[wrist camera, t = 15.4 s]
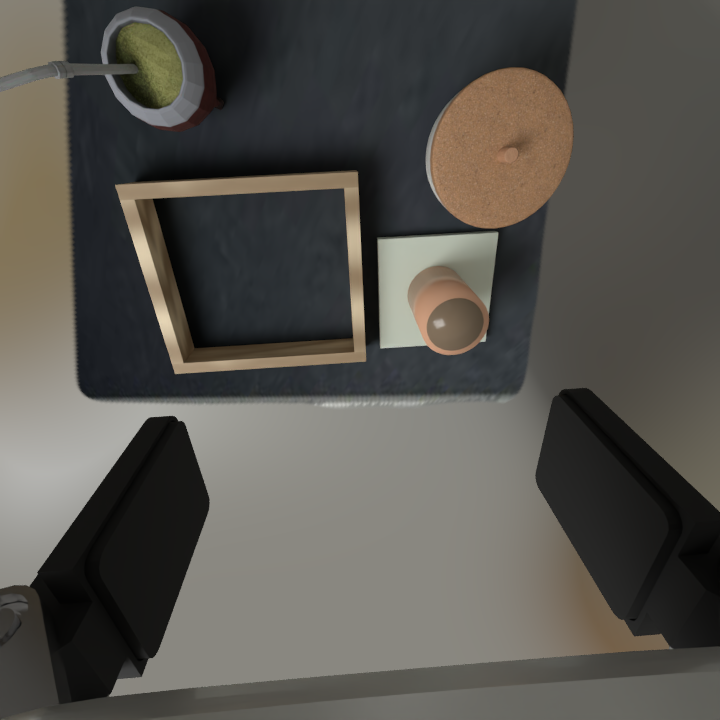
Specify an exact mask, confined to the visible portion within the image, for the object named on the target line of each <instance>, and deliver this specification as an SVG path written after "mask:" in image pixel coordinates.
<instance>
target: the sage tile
mask: <svg viewBox="0 0 720 720" xmlns="http://www.w3.org/2000/svg"><path fill="white" fill-rule="evenodd" d="M497 240H498V232H496V231H482V232H465V233H448V234H430V235H413V236H396V237H379V238H377V258H378V298H379V338H380V348H393V347H408V346H424V345H427V344H426V343H425V341H424V339H423V337H422V335H421V332H420V330H419V327H418V325H417V323H416V320H415V318H414V316H413V313H412V311H411V308H410V306H409V303H408V298H407V294H408V289H409V286H410V283H411V282H412V280H413V279H414V277H415V276H416V275H417V274H419V273H420V272H421V271H423V270H425V269H427V268H429V267H433V266H444V267H448V268H450V269H452V270H454V271H455V272H456V273H457V274H458V275H459V276H460V277H461V278H462V279H463V280H464V282H465V283H466V284H467V285H468V286H469V287H470V288H471V290H472V291H473V292H474V293H475V294H476V295H477V296H478V297H479V299H480V300H481V301H482V302H483V303H484V305H485V306H486V308H487V311H488V314H489V307H490V299H491V290H492V282H493V274H494V265H495V257H496V249H497ZM486 332H487V331H486ZM485 340H486V333H485V335H484V337H483V338H482V340H481V341H480V342H485Z"/></svg>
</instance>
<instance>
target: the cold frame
mask: <svg viewBox="0 0 720 720" xmlns="http://www.w3.org/2000/svg"><path fill="white" fill-rule="evenodd" d="M115 186H116V189H117V192H118V195H119V198H120V202H121V205H122V208H123V211H124V214H125V217H126V220H127V224H128V227H129V230H130V233H131V236H132V239H133V243H134V246H135V249H136V252H137V255H138V258H139V261H140V265H141V268H142V271H143V274H144V277H145V280H146V283H147V287H148V290H149V293H150V296H151V299H152V302H153V305H154V309H155V312H156V315H157V318H158V321H159V324H160V327H161V331H162V334H163V337H164V340H165V343H166V346H167V349H168V353H169V356H170V359H171V362H172V365H173V368H174V371H175V374H180V373H196V372H211V371H226V370H242V369H257V368H272V367H288V366H303V365H318V364H334V363H349V362H364V361H366V347H365V324H364V302H363V279H362V257H361V234H360V211H359V189H358V172H357V171H356V170H350V171H331V172H313V173H294V174H276V175H257V176H239V177H220V178H202V179H183V180H165V181H146V182H132V183H125V184H119V185H115ZM336 188H344V193H345V210H346V226H347V243H348V259H349V276H350V292H351V309H352V325H353V338H349V339H334V340H318V341H302V342H287V343H271V344H255V345H240V346H224V347H208V348H194V345H193V341H192V338H191V334H190V331H189V327H188V323H187V320H186V316H185V313H184V309H183V306H182V302H181V298H180V295H179V291H178V288H177V284H176V281H175V277H174V273H173V270H172V266H171V263H170V259H169V256H168V252H167V248H166V245H165V241H164V238H163V234H162V231H161V227H160V224H159V220H158V216H157V213H156V209H155V206H154V202H153V199H154V198H172V197H190V196H209V195H227V194H245V193H263V192H281V191H299V190H318V189H336Z"/></svg>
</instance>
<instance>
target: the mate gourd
mask: <svg viewBox="0 0 720 720" xmlns="http://www.w3.org/2000/svg"><path fill="white" fill-rule="evenodd" d="M101 55H102V61H103V64H69V63H68V62H67V61H53V62H48V65H43V66H39V67H35V68H30V69H26V70H23V71H20V72H17V73H13V74H10V75H7V76H4V77H1V78H0V92H1V91H4V90H8V89H11V88H14V87H17V86H20V85H23V84H26V83H30V82H32V81H36V80H40V79H44V78H48V77H53V76H54V77H55V78H56V79H60V78H71V77H74V75H105V76H106V78H107V80H108V82H109V84H110V86H111V88H112V90H113V92H114V94H115V96H116V98H117V99H118V100H119V101H120V102H121V103H122V104H123V105H124V106H125V107H126V108H127V109H128V110H129V111H130V113H131V114H132V115H134V116H136V117H137V118H138V119H140V120H142V121H144V122H146V123H148V124H150V125H151V126H153V127H155V128H157V129H160V130H168V131H177V132H181V131H184V130H187V129H189V128H192V127H194V126H197V125H199V124H200V123H201V122H202V121H203V120H204V119H205V118H206V116H207V115H208V114H210V112H211V111H212V109H213V108H214V107H215V108H217V109H220V110H221V109H223V105H224V101H223V100H222V99H220V98H219V97H217V96H216V95H217V90H216V81H215V71H214V68H213V66H212V63H211V61H210V58H209V56H208V53H207V51H206V48H205V47H204V46H203V44H202V43H201V42H200V41H199V40H198V38H197V37H196V36H195V35H194V33H193V32H192V31H191V30H190V28H189V27H188V26H187V25H185V24H184V23H182V22H181V21H179V20H177V19H176V18H174V17H172V16H171V15H169V14H168V13H166V12H164V11H162V10H157V9H150V8H143V7H133V8H130V9H128V10H125V11H123V12H121V13H118V14H116V16H115V17H114V18H113V20H112V21H111V22H110V24H109V25H108V27H107V28H106V29H105V32H104V38H103V43H102V49H101Z"/></svg>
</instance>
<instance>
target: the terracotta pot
mask: <svg viewBox="0 0 720 720" xmlns="http://www.w3.org/2000/svg"><path fill="white" fill-rule="evenodd" d="M407 298H408V303H409V306H410V308H411V311H412V313H413V316H414V318H415V320H416V323H417V325H418V327H419V330H420V332H421V335H422V337H423V339H424V341H425V343H426V344H427V345H428V346H429V347H430V348H431V349H432V350H434V351H435V352H438V353H440V354H445V355H456V354H461V353H464V352H466V351H468V350H470V349H472V348H473V347H474V346H476V345H477V344H478V343H479V342H480V341H481V340H482V338H483V337H484V335H485V333H486V331H487V329H488V325H489V314H488V311H487V308H486V306H485V305H484V303H483V302H482V301H481V300H480V299H479V297H478V296H477V295H476V294H475V293H474V292H473V291H472V290H471V288H470V287H469V286H468V285H467V284H466V283H465V282H464V280H463V279H462V278H461V277H460V276H459V275H458V274H457V273H456V272H455V271H454V270H452V269H450V268H448V267H444V266H433V267H429V268H427V269H425V270H423V271H421V272H420V273H419V274H417V275H416V276H415V277H414V279H413V280H412V282H411V283H410V286H409V289H408V294H407Z"/></svg>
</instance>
